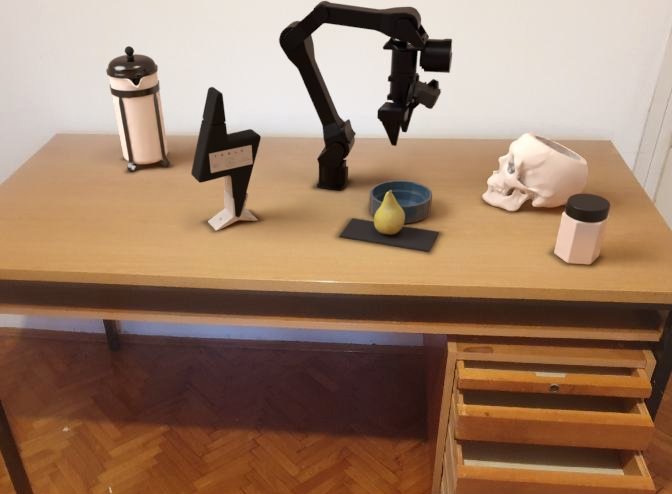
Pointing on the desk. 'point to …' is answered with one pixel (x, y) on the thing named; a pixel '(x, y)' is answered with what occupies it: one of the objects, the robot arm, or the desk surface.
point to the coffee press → (138, 109)
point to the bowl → (404, 198)
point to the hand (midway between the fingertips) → (399, 138)
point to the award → (225, 160)
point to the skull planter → (536, 174)
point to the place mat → (403, 238)
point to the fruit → (389, 216)
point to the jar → (582, 228)
